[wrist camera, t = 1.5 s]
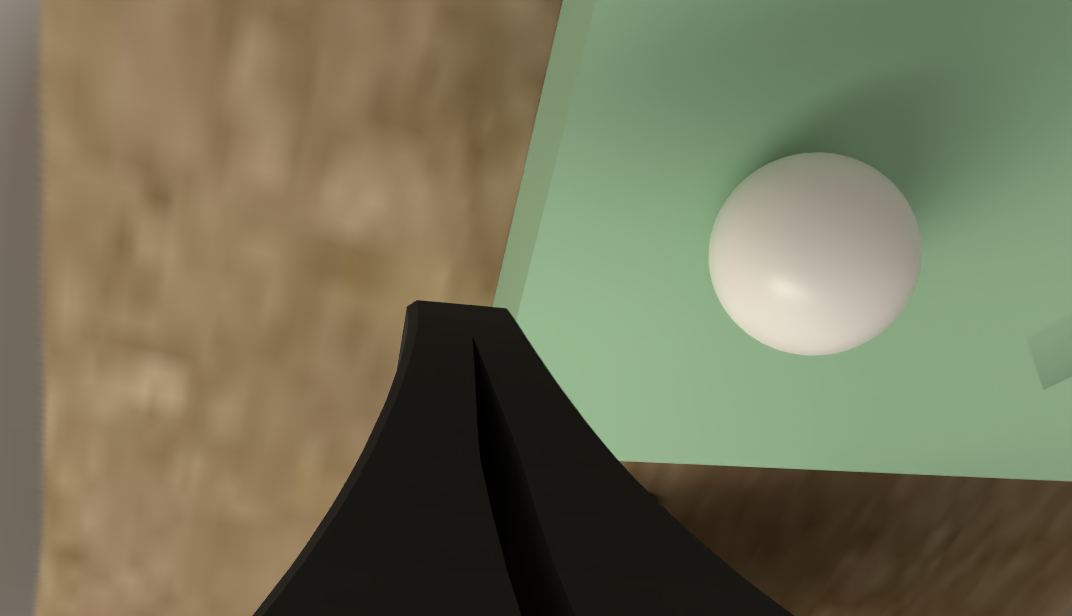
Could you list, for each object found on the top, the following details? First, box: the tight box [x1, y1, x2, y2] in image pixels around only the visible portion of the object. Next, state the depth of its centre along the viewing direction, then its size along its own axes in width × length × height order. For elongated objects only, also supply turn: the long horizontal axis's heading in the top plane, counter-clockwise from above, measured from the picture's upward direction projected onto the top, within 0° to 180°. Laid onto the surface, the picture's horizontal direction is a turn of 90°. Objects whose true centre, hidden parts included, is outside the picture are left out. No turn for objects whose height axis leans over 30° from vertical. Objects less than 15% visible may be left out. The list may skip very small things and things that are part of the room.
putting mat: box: [493, 0, 1072, 481], centre depth 21 cm, size 16×24×2 cm, turn 78°
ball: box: [708, 152, 922, 356], centre depth 17 cm, size 4×4×4 cm
